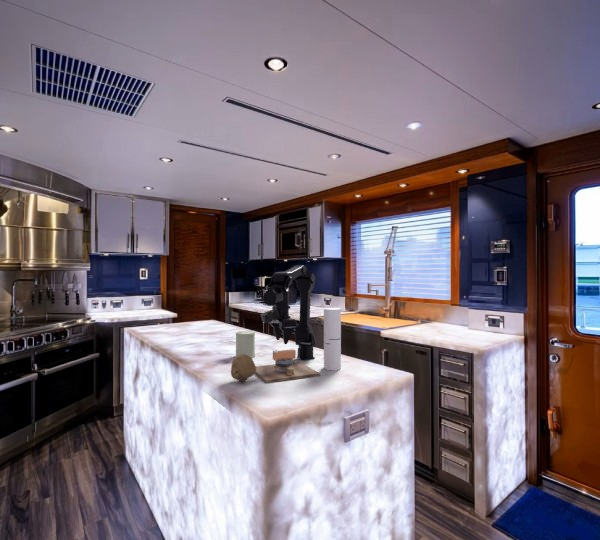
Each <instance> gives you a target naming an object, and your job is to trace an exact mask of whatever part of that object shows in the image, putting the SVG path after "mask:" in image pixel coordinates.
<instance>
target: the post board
mask: <svg viewBox="0 0 600 540" xmlns="http://www.w3.org/2000/svg"><path fill="white" fill-rule="evenodd" d="M255 366H256V372H255V374H254V375H257V376H258V377H259V378H260V379H261V380H262V381H263V382H265V384H267V383H268V384H269V383H270V384H271V383H275V382H276V383H277V382H283V381H292V380H297V379H298V380H299V379H306V378H314V377H320V376H321V373H320V372H319V371H317V370H315V369H313V368H311V367H309V365H306V364H304V363H303V362H301V361H293V365H292V366H288V367H279V366H276V365H275V363H274V364H272V363H271V364H266V365H265V364H264V365H255Z"/></svg>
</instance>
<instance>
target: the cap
mask: <svg viewBox="0 0 600 540" xmlns="http://www.w3.org/2000/svg"><path fill="white" fill-rule="evenodd" d="M296 358H297V357H296V349H282V350H276V349H274V350H272V360H273V361H274V364H275V365H276V366H279V367H288V366H292V365H293V362H294V359H296Z"/></svg>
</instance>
